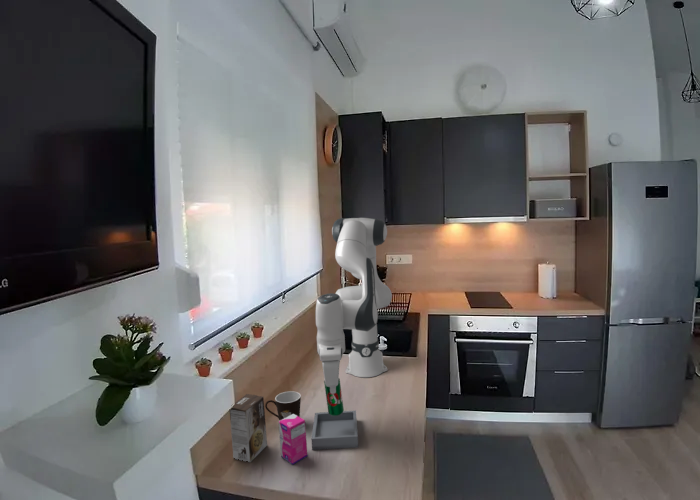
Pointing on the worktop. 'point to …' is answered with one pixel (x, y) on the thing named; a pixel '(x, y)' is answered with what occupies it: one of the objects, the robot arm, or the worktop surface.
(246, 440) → the coffee box
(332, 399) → the soda can
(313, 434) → the tray
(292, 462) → the supplement box
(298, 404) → the coffee mug
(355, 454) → the worktop surface
